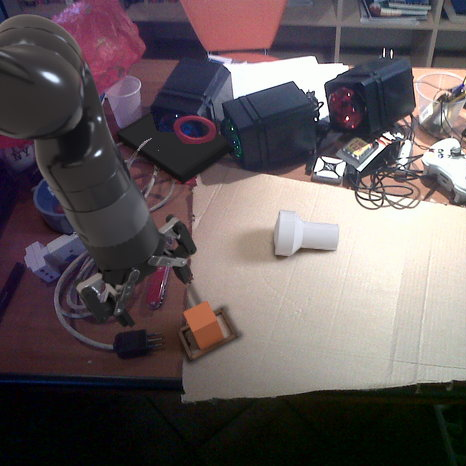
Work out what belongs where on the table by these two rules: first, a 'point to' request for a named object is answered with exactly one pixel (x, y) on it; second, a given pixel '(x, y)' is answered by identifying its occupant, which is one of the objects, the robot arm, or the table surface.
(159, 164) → the external hard drive
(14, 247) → the table surface
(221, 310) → the wooden frame tray
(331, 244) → the spotlight
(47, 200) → the blue plastic ring
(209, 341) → the block
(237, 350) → the table surface
